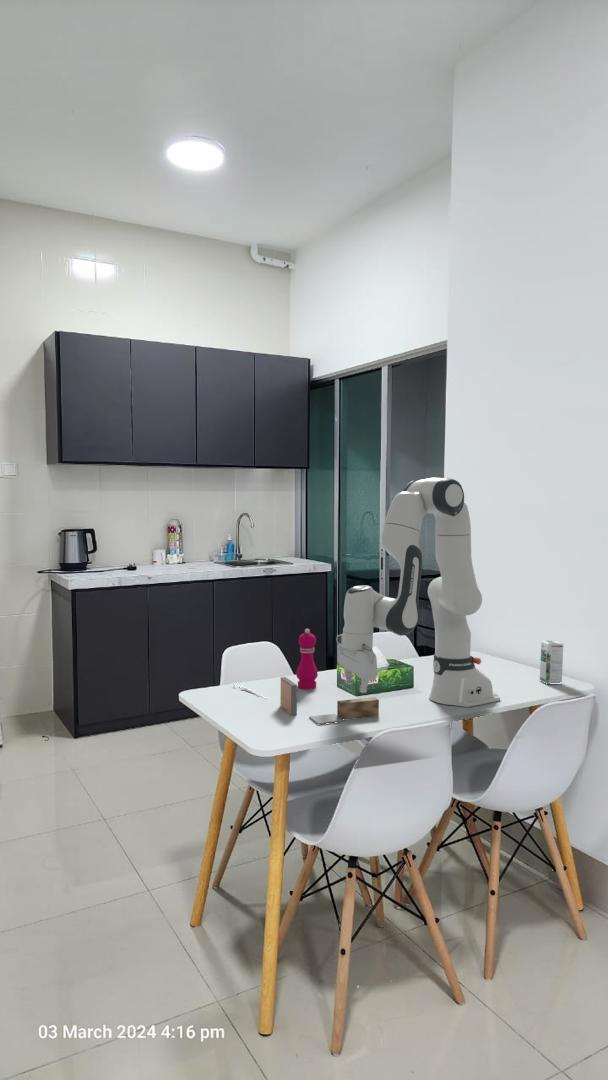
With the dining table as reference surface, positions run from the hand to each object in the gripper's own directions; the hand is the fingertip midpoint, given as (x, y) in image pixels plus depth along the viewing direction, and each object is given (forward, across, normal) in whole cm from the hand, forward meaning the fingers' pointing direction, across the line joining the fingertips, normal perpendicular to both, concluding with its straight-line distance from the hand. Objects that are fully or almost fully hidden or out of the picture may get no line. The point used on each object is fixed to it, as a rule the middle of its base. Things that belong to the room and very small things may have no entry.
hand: (355, 688), depth 215 cm
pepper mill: (+9, +36, +1) cm, 37 cm away
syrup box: (+7, +12, -81) cm, 82 cm away
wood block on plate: (+9, 0, +3) cm, 9 cm away
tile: (+9, +13, +16) cm, 23 cm away
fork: (+10, +36, +21) cm, 43 cm away
